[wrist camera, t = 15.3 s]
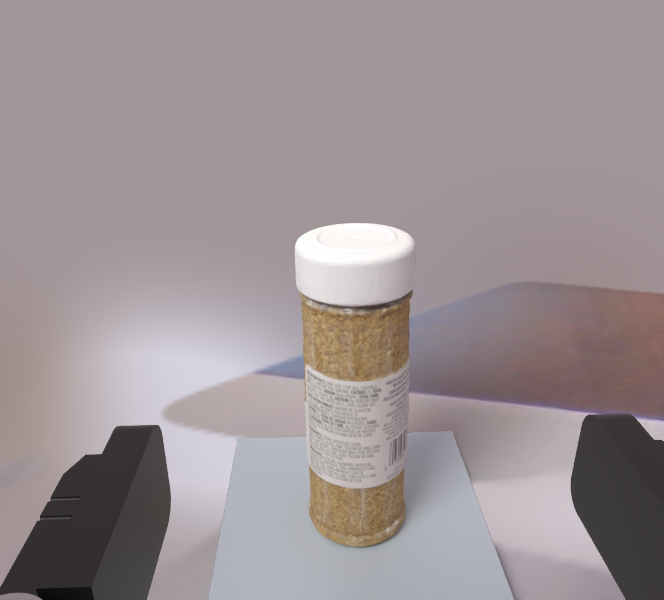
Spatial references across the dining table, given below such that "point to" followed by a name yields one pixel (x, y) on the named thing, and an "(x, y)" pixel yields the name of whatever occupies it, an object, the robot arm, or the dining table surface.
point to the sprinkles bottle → (356, 376)
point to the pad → (347, 561)
